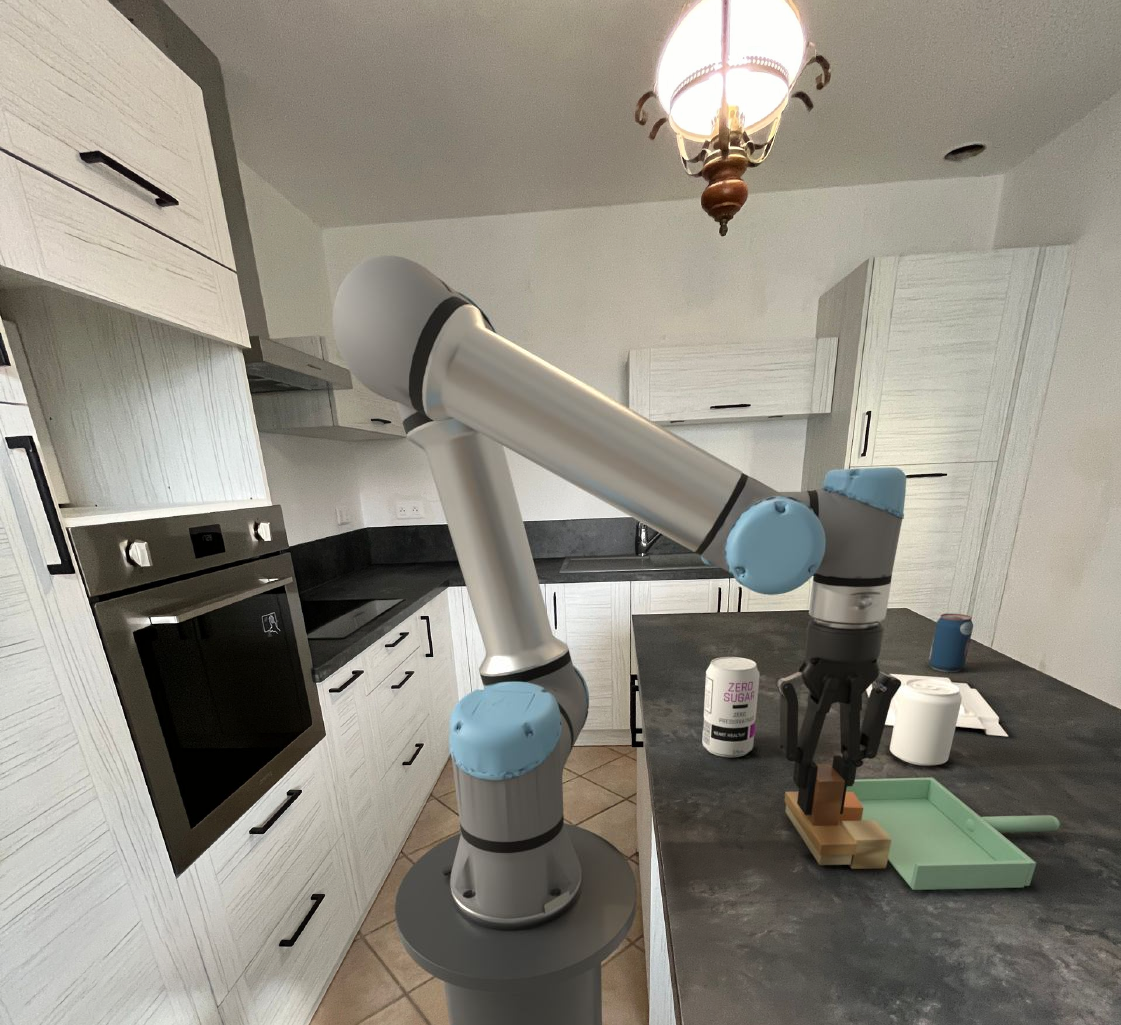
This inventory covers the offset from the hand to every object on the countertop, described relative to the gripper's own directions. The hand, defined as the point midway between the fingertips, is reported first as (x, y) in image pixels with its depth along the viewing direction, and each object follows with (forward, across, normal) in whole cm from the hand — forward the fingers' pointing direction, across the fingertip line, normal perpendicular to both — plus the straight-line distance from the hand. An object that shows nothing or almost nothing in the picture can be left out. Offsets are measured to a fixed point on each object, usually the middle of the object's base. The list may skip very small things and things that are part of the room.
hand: (819, 808), depth 72 cm
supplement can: (+5, -4, +27) cm, 28 cm away
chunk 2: (+5, +4, -4) cm, 7 cm away
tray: (+5, +39, +45) cm, 60 cm away
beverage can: (+5, +25, +22) cm, 34 cm away
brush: (+4, 0, 0) cm, 4 cm away
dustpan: (+5, +18, 0) cm, 19 cm away
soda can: (+5, +55, +65) cm, 85 cm away
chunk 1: (+5, +4, +3) cm, 7 cm away
